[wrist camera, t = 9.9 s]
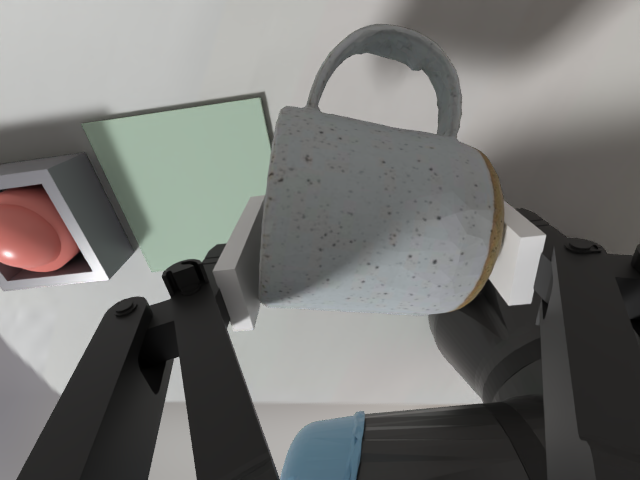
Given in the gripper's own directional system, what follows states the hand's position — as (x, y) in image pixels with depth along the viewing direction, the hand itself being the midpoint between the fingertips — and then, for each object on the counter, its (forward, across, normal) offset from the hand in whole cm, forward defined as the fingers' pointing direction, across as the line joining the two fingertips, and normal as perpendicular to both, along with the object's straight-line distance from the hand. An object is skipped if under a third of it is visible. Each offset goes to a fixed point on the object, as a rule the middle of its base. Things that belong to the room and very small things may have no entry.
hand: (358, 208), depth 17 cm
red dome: (+9, +24, +2) cm, 26 cm away
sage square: (+9, +12, +2) cm, 15 cm away
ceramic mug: (+1, 0, -2) cm, 2 cm away
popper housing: (+9, +24, +2) cm, 26 cm away
